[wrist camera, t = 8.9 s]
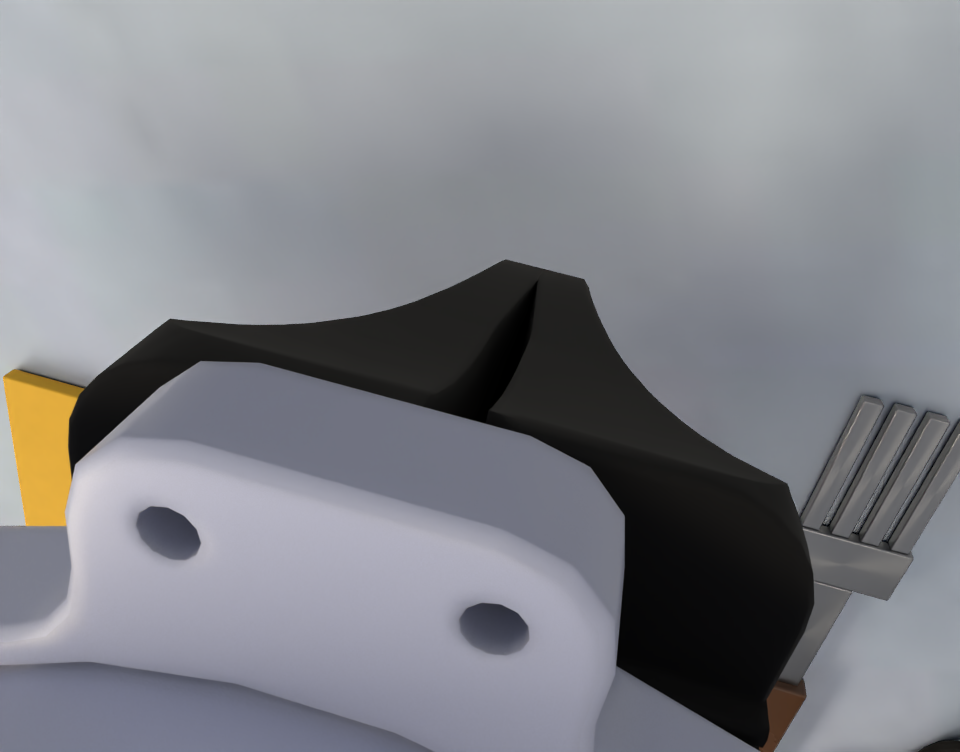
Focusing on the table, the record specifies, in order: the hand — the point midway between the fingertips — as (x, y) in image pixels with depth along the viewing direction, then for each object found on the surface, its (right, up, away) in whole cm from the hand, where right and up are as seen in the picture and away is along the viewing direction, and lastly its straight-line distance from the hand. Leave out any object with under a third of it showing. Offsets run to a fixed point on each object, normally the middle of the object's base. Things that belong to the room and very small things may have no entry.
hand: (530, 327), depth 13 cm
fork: (+6, -8, +6) cm, 12 cm away
